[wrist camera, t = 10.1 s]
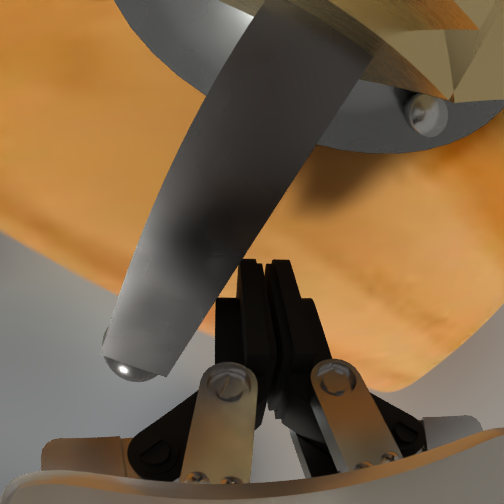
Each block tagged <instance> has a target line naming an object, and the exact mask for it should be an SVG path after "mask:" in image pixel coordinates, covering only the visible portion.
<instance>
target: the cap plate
mask: <svg viewBox="0 0 504 504" xmlns="http://www.w3.org/2000/svg"><path fill="white" fill-rule="evenodd" d="M114 1H115V3H116V5H117V6H118V8H119V9H120V11H121V12H122V14H123V16H124V17H125V19H126V20H127V22H128V24H129V25H130V27H131V28H132V29H133V31H134V32H135V33H136V34H137V35H138V36H139V37H140V39H141V40H142V41H143V42H144V43H145V45H146V46H147V47H148V48H149V49H150V50H151V52H152V53H153V54H155V55H156V56H157V57H158V58H159V59H160V60H161V61H162V62H164V63H165V64H166V65H167V66H168V67H169V68H170V69H171V70H172V71H173V72H175V73H176V74H177V75H178V76H179V77H180V78H182V79H183V80H185V81H186V82H188V83H189V84H190V85H192V86H193V87H195V88H196V89H197V90H199V91H200V92H202V93H203V94H204V95H206V96H207V94H208V92H209V90H210V89H211V87H212V85H213V83H214V81H215V80H216V78H217V76H218V74H219V73H220V71H221V69H222V68H223V66H224V64H225V63H226V61H227V59H228V57H229V56H230V54H231V52H232V51H233V49H234V48H235V46H236V44H237V43H238V41H239V40H240V38H241V36H242V35H243V33H244V32H245V30H246V28H247V27H248V25H249V24H250V22H251V21H252V19H253V18H254V17H253V16H251V15H249V14H247V13H245V12H243V11H241V10H238V9H236V8H234V7H232V6H230V5H227V4H225V3H223V2H221V1H219V0H114ZM503 108H504V100H485V101H471V102H460V103H453V102H450V101H447V100H443V99H440V98H437V97H433V96H429V95H426V94H422V93H418V92H414V91H410V90H406V89H402V88H398V87H393V86H389V85H384V84H379V83H374V82H369V81H364V80H360V79H359V80H358V81H357V83H356V84H355V86H354V87H353V89H352V91H351V92H350V94H349V95H348V97H347V98H346V100H345V101H344V103H343V104H342V106H341V107H340V109H339V110H338V112H337V114H336V115H335V117H334V118H333V120H332V121H331V123H330V124H329V126H328V127H327V129H326V130H325V132H324V133H323V135H322V137H321V138H320V140H319V141H318V143H317V144H318V145H322V146H326V147H331V148H335V149H339V150H347V151H355V152H364V153H407V152H415V151H423V150H428V149H431V148H435V147H439V146H442V145H446V144H449V143H452V142H454V141H456V140H458V139H461V138H463V137H465V136H468V135H469V134H471V133H473V132H474V131H476V130H477V129H479V128H480V127H482V126H484V125H485V124H487V123H488V122H489V121H490V120H491V119H492V118H493V117H494V116H496V115H497V114H498V113H499V112H500V111H501V110H502V109H503Z"/></svg>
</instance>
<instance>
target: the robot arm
mask: <svg viewBox="0 0 504 504" xmlns="http://www.w3.org/2000/svg"><path fill="white" fill-rule="evenodd" d="M266 403H268V409H269V411H270V410H274V412H275V419H281V420H282V423H283V424H284V425H285V426H287V427H288V428H290V435H291V438H292V441H293V444H294V447H295V450H296V453H297V455H298V458H299V461H300V464H301V467H302V470H303V472H304V475H305V478H306V479H298V480H289V481H279V482H266V483H250V475H251V462H252V452H253V440H254V431H255V430H256V429H257V428H258V427H259V426H260V425H261V423H262V419H263V415H264V411H265V407H266ZM0 504H504V428H495V429H489V430H485V431H483V429H482V427H481V424H480V423H479V421H478V420H477V419H476V418H474V417H472V416H467V415H464V416H448V417H423V418H422V419H421V420H417V419H416V418H414V417H413V416H411V415H409V414H408V413H405V412H404V411H402V410H400V409H399V408H397V407H395V406H393V405H391V404H389V403H388V402H386V401H384V400H382V399H381V398H379V397H377V396H375V395H373V394H372V393H370V392H369V390H368V388H367V387H366V385H365V383H364V381H363V379H362V377H361V375H360V374H359V372H358V371H357V370H356V368H355V367H354V366H352V365H351V364H350V363H348V362H345V361H343V360H339V359H332V356H331V353H330V350H329V347H328V344H327V341H326V337H325V334H324V331H323V328H322V325H321V322H320V319H319V316H318V313H317V310H316V307H315V304H314V301H313V299H311V298H301V296H300V293H299V289H298V286H297V283H296V279H295V276H294V273H293V269H292V266H291V263H290V260H274V259H273V260H272V264H266V268H265V275H264V271H263V265H262V264H260V263H256V259H242V260H241V262H240V263H239V265H238V278H237V293H236V298H217V299H216V310H215V365H213V366H212V367H210V368H208V369H207V370H206V372H205V373H204V374H203V376H202V378H201V381H200V386H199V390H198V391H197V392H195V393H194V394H193V395H191V396H190V397H189V398H187V399H186V400H185V401H183V402H182V403H180V404H179V405H178V406H176V407H175V408H174V409H172V410H171V411H170V412H168V413H167V414H165V415H164V416H162V417H161V418H160V419H159V420H157V421H156V422H154V423H153V424H151V425H150V426H148V427H147V428H145V429H144V430H143V431H141V432H140V433H138V434H137V435H136V436H135V437H134V438H125V439H121V438H120V436H116V437H98V438H59V439H54V440H51V441H50V442H48V443H47V444H46V445H45V447H44V448H43V450H42V455H41V471H38V472H32V473H28V474H24V475H21V476H19V477H17V478H15V479H13V480H12V481H11V482H10V483H9V484H8V485H7V486H6V488H5V490H4V492H3V494H2V496H1V499H0Z"/></svg>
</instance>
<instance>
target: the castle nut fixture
mask: <svg viewBox="0 0 504 504" xmlns="http://www.w3.org/2000/svg"><path fill="white" fill-rule="evenodd" d="M219 1H221V2H223V3H225V4H227V5H230V6H232V7H234V8H236V9H238V10H241V11H243V12H245V13H247V14H249V15H251V16H253V17H254V18H253V19H252V21H251V22H250V24H249V25H248V27H247V28H246V30H245V32H244V33H243V35H242V36H241V38H240V40H239V41H238V43H237V44H236V46H235V48H234V49H233V51H232V52H231V54H230V56H229V57H228V59H227V61H226V63H225V64H224V66H223V68H222V69H221V71H220V73H219V74H218V76H217V78H216V80H215V81H214V83H213V85H212V87H211V89H210V90H209V92H208V94H207V96H206V98H205V100H204V101H203V103H202V105H201V107H200V109H199V111H198V113H197V115H196V116H195V118H194V120H193V122H192V124H191V126H190V128H189V130H188V132H187V134H186V136H185V138H184V140H183V142H182V144H181V146H180V148H179V150H178V152H177V154H176V156H175V159H174V161H173V163H172V165H171V167H170V169H169V171H168V174H167V176H166V178H165V180H164V182H163V185H162V187H161V189H160V191H159V194H158V196H157V198H156V200H155V203H154V205H153V207H152V210H151V212H150V215H149V217H148V219H147V222H146V224H145V227H144V229H143V232H142V234H141V237H140V239H139V242H138V244H137V247H136V250H135V252H134V255H133V257H132V260H131V263H130V266H129V268H128V271H127V274H126V277H125V279H124V282H123V285H122V288H121V291H120V294H119V297H118V300H117V303H116V306H115V309H114V312H113V315H112V318H111V321H110V324H109V327H108V328H107V330H106V332H105V334H104V337H103V342H102V351H101V355H103V356H104V358H105V360H106V363H107V364H108V366H109V367H110V369H111V370H112V371H113V372H114V373H115V374H116V375H118V376H119V377H121V378H123V379H125V380H128V381H132V382H144V381H148V380H150V379H153V378H155V377H156V376H157V375H161V376H164V377H167V375H168V374H169V372H170V371H171V369H172V368H173V366H174V365H175V363H176V361H177V360H178V358H179V357H180V355H181V354H182V352H183V350H184V349H185V347H186V346H187V344H188V343H189V341H190V339H191V338H192V336H193V335H194V333H195V332H196V330H197V329H198V327H199V325H200V324H201V322H202V321H203V319H204V318H205V316H206V315H207V313H208V311H209V310H210V308H211V307H212V305H213V304H214V302H215V300H216V299H217V297H218V296H219V294H220V293H221V291H222V290H223V288H224V286H225V285H226V283H227V282H228V280H229V279H230V277H231V276H232V274H233V272H234V271H235V269H236V268H237V266H238V265H239V263H240V262H241V260H242V259H243V257H244V255H245V254H246V252H247V251H248V249H249V248H250V246H251V245H252V243H253V241H254V240H255V238H256V237H257V235H258V234H259V232H260V231H261V229H262V227H263V226H264V224H265V223H266V221H267V220H268V218H269V217H270V215H271V214H272V212H273V210H274V209H275V207H276V206H277V204H278V203H279V201H280V200H281V198H282V197H283V195H284V193H285V192H286V190H287V189H288V187H289V186H290V184H291V183H292V181H293V180H294V178H295V177H296V175H297V173H298V172H299V170H300V169H301V167H302V166H303V164H304V163H305V161H306V160H307V158H308V156H309V155H310V153H311V152H312V150H313V149H314V147H315V146H316V144H317V143H318V141H319V140H320V138H321V137H322V135H323V133H324V132H325V130H326V129H327V127H328V126H329V124H330V123H331V121H332V120H333V118H334V117H335V115H336V114H337V112H338V110H339V109H340V107H341V106H342V104H343V103H344V101H345V100H346V98H347V97H348V95H349V94H350V92H351V91H352V89H353V87H354V86H355V84H356V83H357V81H358V80H359V79H360V80H364V81H369V82H374V83H379V84H384V85H389V86H393V87H398V88H402V89H406V90H410V91H414V92H418V93H422V94H426V95H429V96H433V97H437V98H440V99H443V100H447V101H450V102H453V103H460V102H471V101H485V100H504V0H219Z"/></svg>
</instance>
